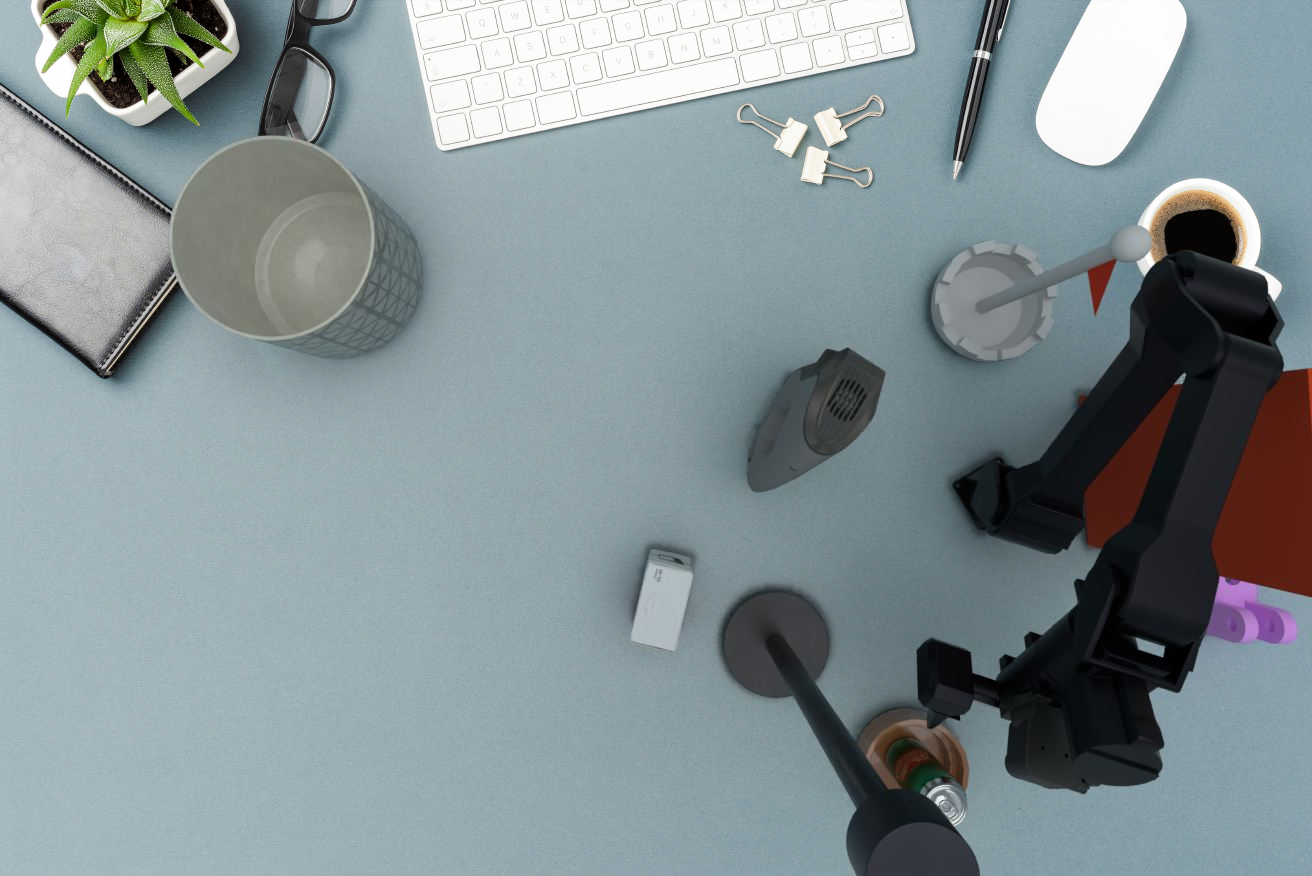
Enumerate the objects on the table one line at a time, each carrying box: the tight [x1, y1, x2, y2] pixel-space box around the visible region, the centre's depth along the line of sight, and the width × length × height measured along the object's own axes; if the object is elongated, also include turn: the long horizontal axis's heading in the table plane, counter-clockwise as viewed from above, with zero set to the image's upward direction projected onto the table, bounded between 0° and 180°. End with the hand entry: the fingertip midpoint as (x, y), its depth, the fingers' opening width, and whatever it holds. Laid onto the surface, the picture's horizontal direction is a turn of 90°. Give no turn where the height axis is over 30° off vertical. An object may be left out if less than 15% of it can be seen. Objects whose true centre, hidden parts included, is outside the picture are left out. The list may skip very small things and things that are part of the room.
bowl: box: [856, 707, 970, 792], centre depth 87 cm, size 12×12×4 cm
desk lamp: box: [722, 589, 981, 876], centre depth 64 cm, size 12×12×49 cm
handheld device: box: [746, 346, 886, 493], centre depth 77 cm, size 6×15×25 cm, turn 147°
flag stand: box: [930, 224, 1153, 363], centre depth 74 cm, size 13×13×30 cm
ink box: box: [629, 548, 694, 653], centre depth 83 cm, size 9×5×12 cm, turn 167°
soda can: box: [886, 738, 968, 828], centre depth 82 cm, size 5×5×12 cm
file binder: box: [1078, 367, 1312, 598], centre depth 73 cm, size 8×17×32 cm, turn 3°
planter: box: [168, 135, 424, 360], centre depth 80 cm, size 19×19×18 cm
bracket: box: [1205, 576, 1299, 645], centre depth 86 cm, size 13×6×7 cm, turn 178°
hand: (973, 739), depth 75 cm, fingers open, 9 cm apart
